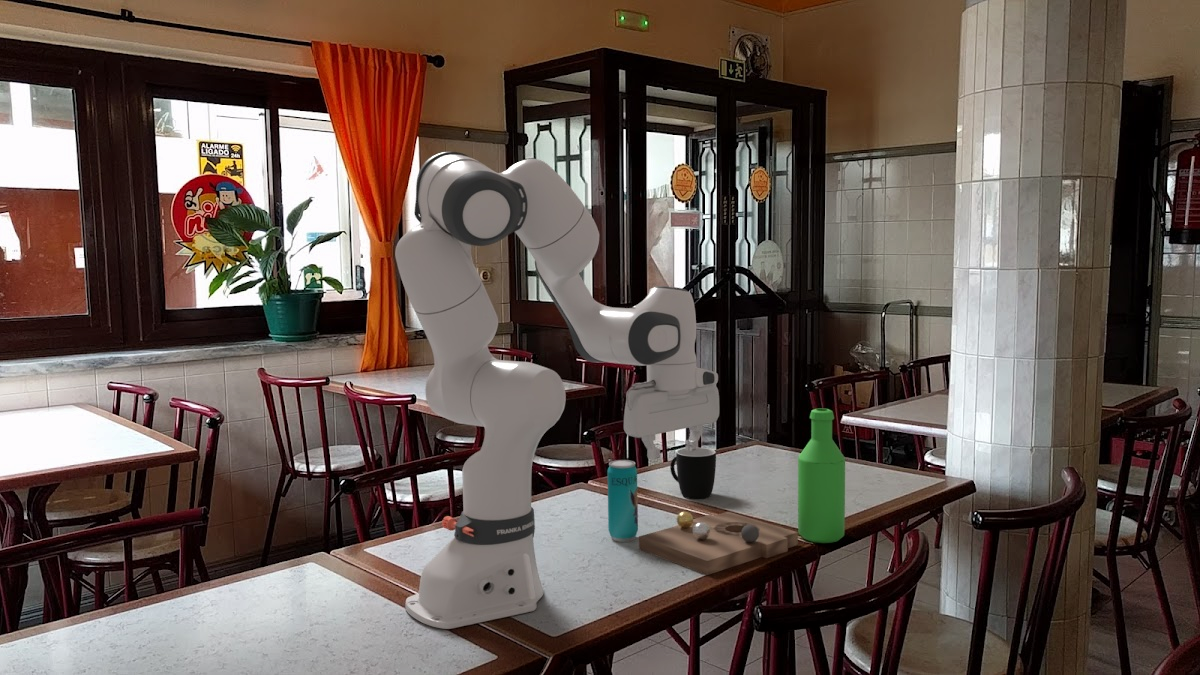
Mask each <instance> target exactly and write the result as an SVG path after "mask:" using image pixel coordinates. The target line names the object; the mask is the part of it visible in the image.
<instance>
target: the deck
mask: <svg viewBox="0 0 1200 675" xmlns="http://www.w3.org/2000/svg"><path fill="white" fill-rule="evenodd" d="M699 522H704V523H706V524H707V525H708V526H709V528H710V534H709V536H708V537H707V538H706V539H704V540H699V539H697V538H696V537H695V536H694V535H693V527H694V525H695V524H697V523H699ZM746 525H753V526H755V527H756V528H757V529H758V531H759V537H758V539H757V540H756V541H754V542H751V543H749V542H746V541H745V540H744V539H743V538H742V536H741V531H742V529H743V527H744V526H746ZM798 538H799V533H798V531H794V530H791V529H789V528H785V527H782V526H779V525H775V524H771V523H767V522H764V521H760V520H758V519H755V518H751V517H747V516H744V515H740V514H737V513H734V512H730V511H726V512H722V513H718V514H715V515H714V514H706V515H704V516H701V517H696V518H693V523H692V525H691V526H690V527H689V528H681V527H680V526H679V525H678V524H677V525H675V526H671V527H668V528H664V529H661V530H658V531H654V532H650V533H646V534H643V535H640V536H638V549H639V551H643V552H645V553H647V554H650V555H653V556H656V557H659V558H661V559H664V560H666V561H669V562H672V563H674V564H677V565H679V566H683V567H685V568H688V569H690V570H692V571H696V572H698V573H701V574H703V575H706V576H709V575H713V574H716V573H718V572H721V571H723V570H724V571H725V570H727V569H731V568H733V567H736V566H740V565H742V564H745V563H748V562H751V561H754V560H757V559H761V558H765V559H768V558H771V557H774V556H778V555H780V554H784V553H787V552H789V551H788V550H789V549H790V548H793V547H796V546H798V543H799V542H798V540H799V539H798Z"/></svg>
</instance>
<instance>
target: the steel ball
mask: <svg viewBox="0 0 1200 675" xmlns="http://www.w3.org/2000/svg"><path fill="white" fill-rule="evenodd" d="M709 534H710V528H709V526H708V525H707V524H706V523H704V522H699V523H697V524H695V525H694V527H693V535H694V536H695V537H696V538H697V539H699V540H704V539H706V538H707V537H708V536H709Z"/></svg>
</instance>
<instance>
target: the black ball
mask: <svg viewBox="0 0 1200 675" xmlns="http://www.w3.org/2000/svg"><path fill="white" fill-rule="evenodd" d="M741 536H742V538H743V539H744V540H745V541H746V542H749V543H751V542H754V541H756V540H757V539H758V537H759V531H758V529H757V528H756V527H755V526H753V525H746V526H744V527H743V529H742V531H741Z"/></svg>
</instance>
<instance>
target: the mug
mask: <svg viewBox="0 0 1200 675" xmlns="http://www.w3.org/2000/svg"><path fill="white" fill-rule="evenodd" d="M675 454H676V455H675V456H674V457H673V459H672V460H671V462H670V465H669V466H670V473H671V476H672V478H673V479H674V480H675V482H677V483H678V486H679V490H680V493H681V495H682V496H683V497H684V498H687V499H690V500H704V499H708V498H709V497H711V495H712V494H713V493H712V492H713V491H714V490H713V489H714V484H715V478H716V464H717V462H716V461H717V452H716V450H715V449H712V448H706V447H698V449H697V450H694V451H690V450H686V447H684V448H680V449H678V450H676V452H675ZM675 463H676V464H675ZM675 465H676V470H675ZM676 472H677V473H676Z"/></svg>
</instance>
